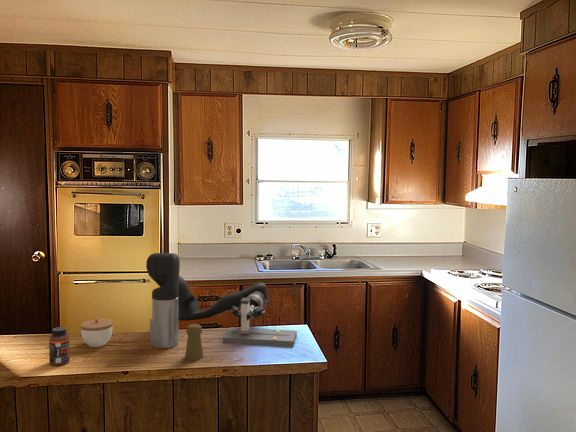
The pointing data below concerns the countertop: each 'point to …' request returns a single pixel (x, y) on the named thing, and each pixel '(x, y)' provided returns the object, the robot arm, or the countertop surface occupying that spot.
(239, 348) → the countertop surface
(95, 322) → the lidded jar
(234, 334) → the slider console
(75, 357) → the countertop surface
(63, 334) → the supplement bottle
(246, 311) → the post
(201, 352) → the pepper mill
